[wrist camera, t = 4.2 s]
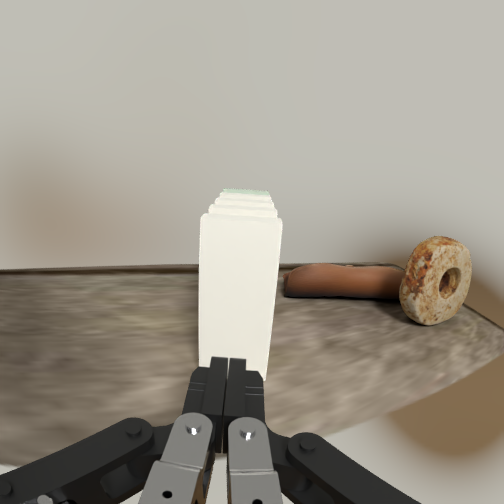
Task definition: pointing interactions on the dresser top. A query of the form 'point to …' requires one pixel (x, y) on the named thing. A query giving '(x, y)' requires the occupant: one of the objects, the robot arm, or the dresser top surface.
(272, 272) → the domino
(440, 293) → the stone disc
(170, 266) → the dresser top surface
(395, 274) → the sunglasses case
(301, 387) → the dresser top surface
